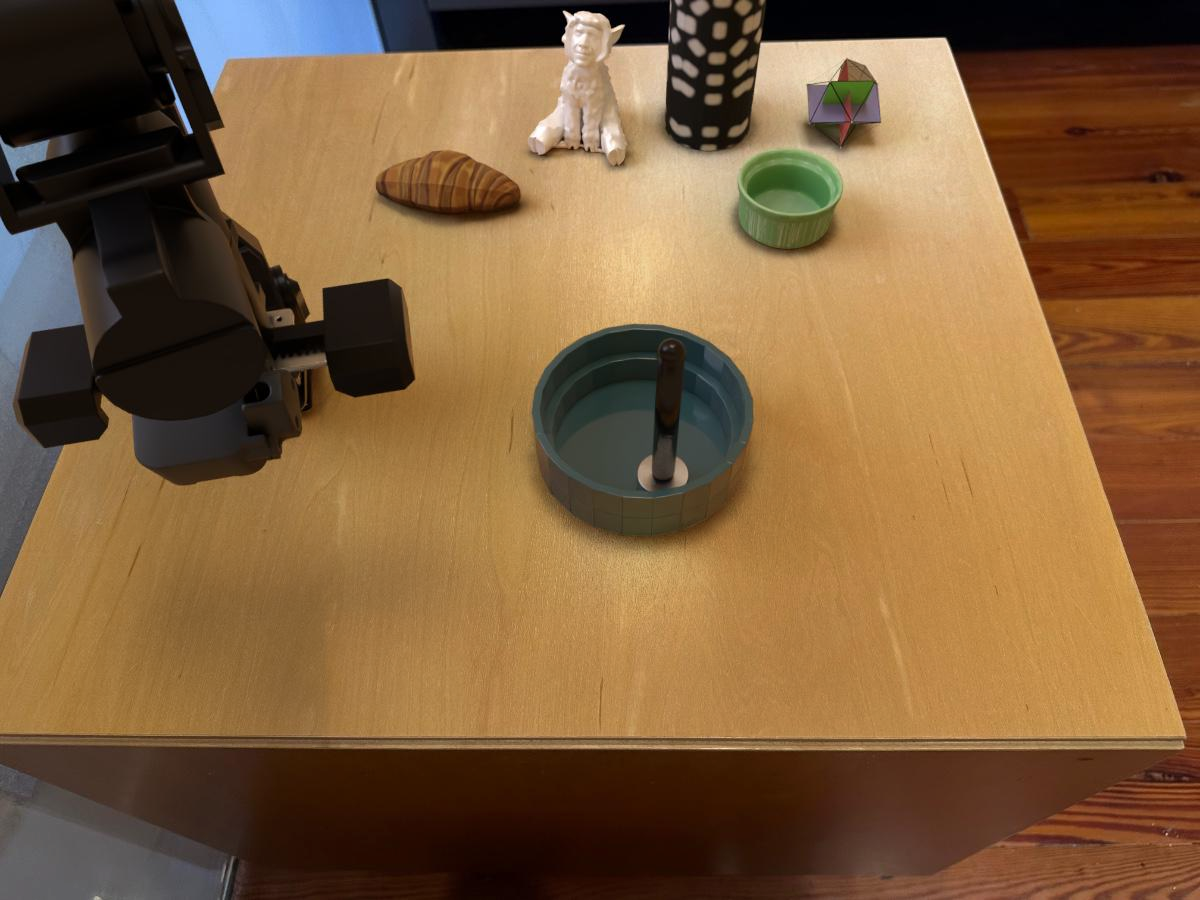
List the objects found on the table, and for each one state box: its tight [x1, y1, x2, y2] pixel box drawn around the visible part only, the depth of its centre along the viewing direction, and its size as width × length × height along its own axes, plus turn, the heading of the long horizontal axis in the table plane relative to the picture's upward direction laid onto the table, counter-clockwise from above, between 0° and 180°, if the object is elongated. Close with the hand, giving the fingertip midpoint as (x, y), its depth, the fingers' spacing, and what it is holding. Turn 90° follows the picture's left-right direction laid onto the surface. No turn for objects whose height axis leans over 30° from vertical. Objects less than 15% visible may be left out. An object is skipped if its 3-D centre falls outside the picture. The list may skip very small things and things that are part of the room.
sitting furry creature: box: [527, 10, 628, 167], centre depth 85 cm, size 10×9×12 cm
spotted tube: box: [664, 0, 767, 152], centre depth 82 cm, size 8×8×20 cm
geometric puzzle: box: [806, 57, 883, 149], centre depth 86 cm, size 7×7×8 cm
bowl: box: [531, 323, 755, 538], centre depth 65 cm, size 15×15×6 cm
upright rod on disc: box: [637, 338, 689, 491], centre depth 58 cm, size 4×4×15 cm
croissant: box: [375, 149, 522, 214], centre depth 82 cm, size 14×7×5 cm, turn 81°
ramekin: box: [737, 147, 844, 250], centre depth 80 cm, size 9×9×4 cm
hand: (274, 453), depth 53 cm, fingers closed
